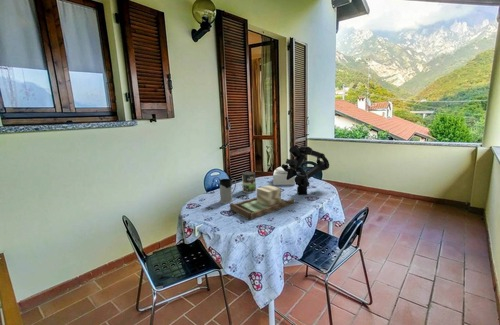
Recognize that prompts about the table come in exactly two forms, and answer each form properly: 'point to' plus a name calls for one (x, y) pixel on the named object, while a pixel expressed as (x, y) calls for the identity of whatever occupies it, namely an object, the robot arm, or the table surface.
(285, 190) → the table surface
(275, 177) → the butter dish
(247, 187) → the coffee can
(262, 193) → the birch block
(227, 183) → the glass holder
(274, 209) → the trap lane
